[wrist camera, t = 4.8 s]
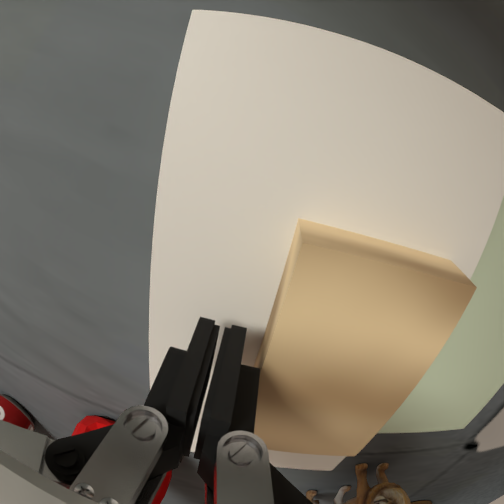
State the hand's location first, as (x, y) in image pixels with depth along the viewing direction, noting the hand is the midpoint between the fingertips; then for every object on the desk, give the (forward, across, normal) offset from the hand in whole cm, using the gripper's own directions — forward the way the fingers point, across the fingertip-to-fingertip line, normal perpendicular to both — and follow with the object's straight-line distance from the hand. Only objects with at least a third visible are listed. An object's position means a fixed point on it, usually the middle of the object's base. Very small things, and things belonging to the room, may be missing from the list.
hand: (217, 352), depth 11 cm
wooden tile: (+1, -5, 0) cm, 5 cm away
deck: (+5, -3, 0) cm, 6 cm away
